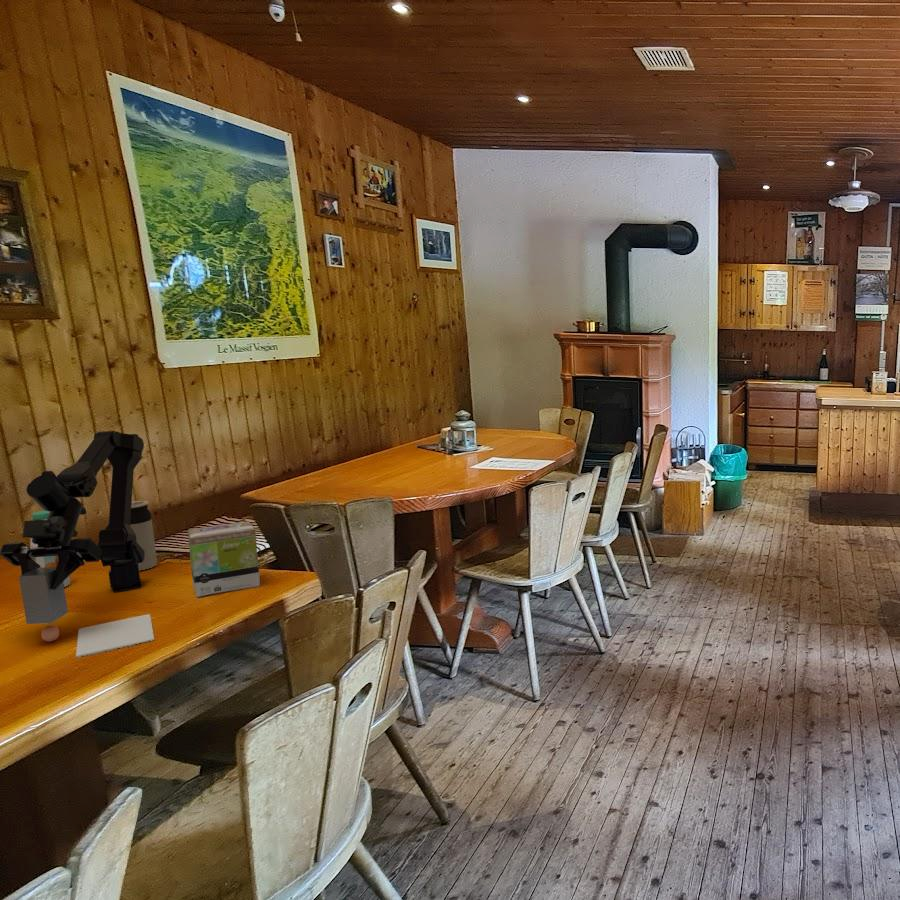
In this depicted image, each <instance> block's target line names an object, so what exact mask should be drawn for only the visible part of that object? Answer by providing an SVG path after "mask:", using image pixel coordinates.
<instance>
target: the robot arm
mask: <svg viewBox="0 0 900 900" xmlns="http://www.w3.org/2000/svg"><path fill="white" fill-rule="evenodd" d="M144 444H145V443H144V439H143V438H142V437H140V436H139V434H137V433H123V432H121V431H116V430H105V431H104V430H102V431H101V430H100V431H97V432H95V433H94V435H93V440H91V442H90V444H89V445H88V446H87V448H86V449H85V450H84V451H83V453H82V454H81V456H80V457H79V458H78V459H77V462H75V463H74V464H73V465H71V466H68V467H66V468H64V469H63V470H62V471H60V472H59V473H58V474H57V475H56V474H55V472H54V470H47V471H45V470H43V471H42V472H41V474H40V475H39V476H37V477H36V478H33V480H31V481H30V483H28V485H27V486H26V493H27V495H28V496H29V497H30V498H31V499H32V500H33V501H34V502H35V503H36V504H37V505H38V506H39V507H41V509H42V510H43V511H44V510H45V511H50V513H49V516H48V519H47V520H33V519H32V520H24V522H23V528H22V538H29V539H31V538H33V539H32V542H33V543H34V544H37V545H38V548H30V547H29V546H28V545H27V544H26V543H25V542H24V541H18V542H16V541H15V542H6V543H4V544H2V546H1V548H0V556H1V557H2V558H3V559H5V560H6V561H7V562H8V563H10V564H11V565H12V566H14V567H20V571H21V575H23V574H25V573H26V572H28V571H30V570H32V569H34V568H40V567H41V566H40V565H39V564H38V563H36V558H37V557H49V556H58V565H57V568H56V570H55V573H54V576H53V579H52V583H51V589H52V590H55V589H56V588H57V587H58V586H59V585H60V584H61V583H62V582H63V581H64V580H65V579H66V578H67V577H68V576H69V575H70V576H71V575H72V574H73V573H74V572H75V571H76V570H77V569H78V568H80V567H82V566H85V564H86V563H96V562H99V561H100V562H101V564H102V567H109V568H110V569H109V570H108V579H109V586H110V589H112V592H113V593H117V592H122V591H128V590H133V588H134V589H137V588H138V587H139V588H141V586H142V580H141V575H140V571H139V567H138V563H141V562H144V561H143V560H144V557H145V551H144V550H143V549H142V548H141V547H140V545H139V544H138V543H137V541H136V534H135V532H134V531H133V529H132V527H131V526H130V519H131V503H132V502H133V488H134V487H133V486H134V485H133V484H134V470H135V468H136V467H137V465H138V464H139V463H140V462H141V460H142V455H143V450H144V448H145V445H144ZM107 460H108V462H109V464H110V465H111V468H112V470H111V471H112V472H111V486H110V487H111V489H110V499H109V512H108V513H109V514H108V524H107V526H106V527H105V528H104V529H101V530H99V532H98V543H97V544H96V543H95V541H93V540H92V538H91V537H89V538H88V537H84V538H83V537H82V538H77V536H78V534H79V533H78V531H77V530H76V528H77V525H78V522H79V519H80V516H81V515H86V514H87V510H86V508H85V506H84V503H83V502H80V500H79V499H81V498H90V497H91V496H92V495H93V493H94V492H95V489H96V488H97V485H98V480H97V475H98V473H99V471H100V470H101V468H102V467H103V465H104V464H105V463H106V461H107Z"/></svg>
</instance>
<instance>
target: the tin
mask: <svg viewBox="0 0 900 900" xmlns="http://www.w3.org/2000/svg"><path fill="white" fill-rule="evenodd" d="M56 568H57V567H42V568H34V569H32V570H30V571H28V572H26V573H25V574H23V575H22V574H21V575H19V576H18V579H19V586H20V592H21V597H22V603H23V605H22V606H23V609H24V615H25V622H26V625H35V624H51V623H52V624H53V623H55V622H56V621H58V620H59V619H61V618H63V617H64V616H66V614H68V613H69V610H68V605H67V598H66V596H67V595H66V592H65V588H64V583H63V582H62V583H61V584H60V585H59V586H58V587H57V588H56V589H55V590H52V589H51V583H52V579H53V576H54V573H55V570H56Z"/></svg>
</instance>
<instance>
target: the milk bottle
mask: <svg viewBox="0 0 900 900" xmlns="http://www.w3.org/2000/svg"><path fill="white" fill-rule="evenodd" d="M49 513H50V511H45V510H44V509H43V510H39V511H35V512H32V514H31V518H32V520H47V519H48V516H49ZM32 539H33V538H30V548H38V545H37V544H34V543H33V542H32ZM36 563H38V564H39V565H40V566H41V567H40V568H42V567H57V565H58V556H49V557H37V558H36ZM63 583H64V587H65V588H67V587H69V586H70V585H71V574H70V575H69V576H68V577H67V578H66V579H65V580H64V581H63ZM68 585H69V586H68ZM66 586H67V587H66Z"/></svg>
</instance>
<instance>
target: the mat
mask: <svg viewBox="0 0 900 900" xmlns="http://www.w3.org/2000/svg"><path fill="white" fill-rule="evenodd" d="M152 640H154V641H155V636H154V631H153V625H152V619H151V613H148V614H143V615H138V616H133V617H129V618H128V617H127V618H125V619H117V620H115V621H110V622H105V623H100V624H95V625H90V626H84V627H80V628H78V633H77V642H76V643H77V644H76V650H75V651H76V653H75V658H76V659H79V658H82V656H83V657H87V655H88V656H91V654H92V655H97V654H101V653H106V652H110V651H115V650H118V649H117V648H120V649H123V647H124V648H128V647H127V646H129V647H132V645H133V646H136V645H135V644H138V645H140V644H139V643H142V644H144V643H143V642H147V643H149V642H148V641H151V642H153V641H152ZM114 649H115V650H114ZM105 651H106V652H105Z"/></svg>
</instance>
